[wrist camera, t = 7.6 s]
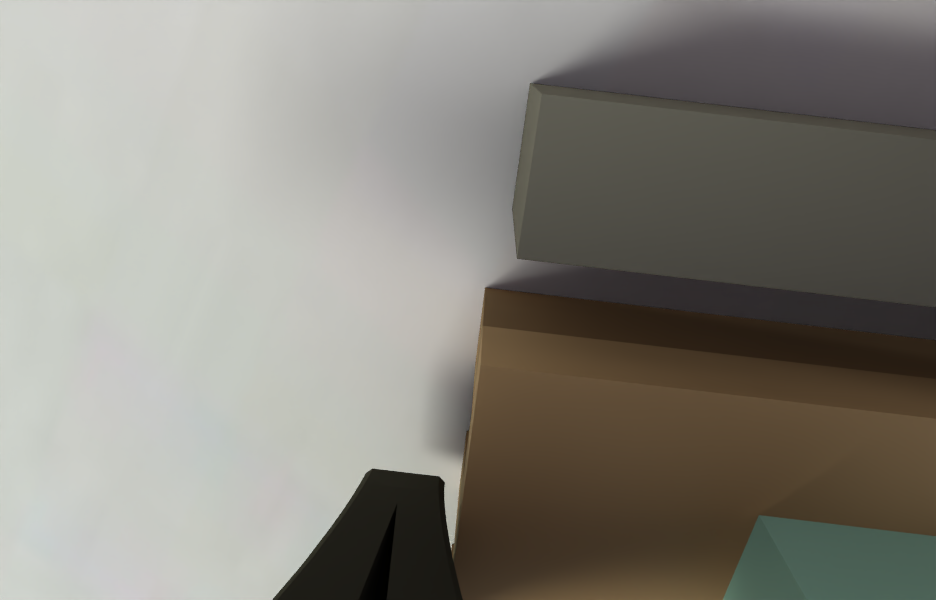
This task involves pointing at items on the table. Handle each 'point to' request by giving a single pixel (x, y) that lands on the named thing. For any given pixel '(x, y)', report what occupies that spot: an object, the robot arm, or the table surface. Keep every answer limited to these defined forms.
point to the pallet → (676, 445)
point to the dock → (727, 195)
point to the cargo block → (833, 563)
